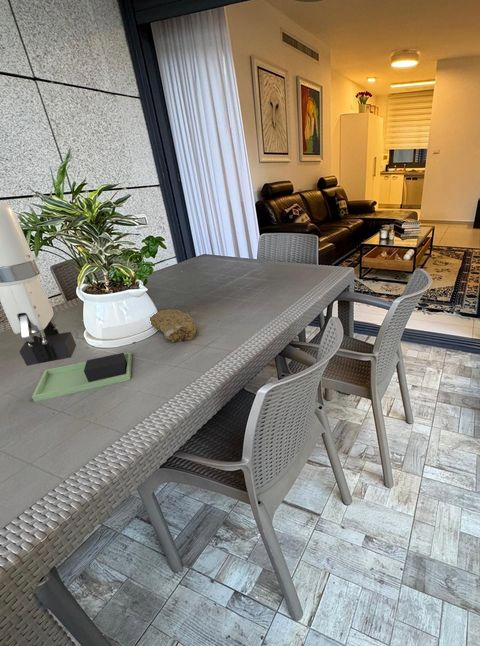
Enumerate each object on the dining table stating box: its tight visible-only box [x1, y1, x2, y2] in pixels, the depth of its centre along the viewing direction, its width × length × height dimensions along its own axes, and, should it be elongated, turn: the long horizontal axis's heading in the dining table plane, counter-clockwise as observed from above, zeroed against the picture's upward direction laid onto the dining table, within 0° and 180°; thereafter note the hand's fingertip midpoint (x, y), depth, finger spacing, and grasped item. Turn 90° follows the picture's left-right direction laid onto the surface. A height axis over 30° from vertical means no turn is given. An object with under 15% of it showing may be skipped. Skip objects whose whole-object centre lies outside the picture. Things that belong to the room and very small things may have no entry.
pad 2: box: [84, 352, 127, 382], centre depth 95 cm, size 9×6×4 cm, turn 114°
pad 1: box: [18, 331, 77, 367], centre depth 75 cm, size 8×6×4 cm
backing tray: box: [31, 351, 133, 403], centre depth 94 cm, size 21×13×2 cm, turn 113°
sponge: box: [150, 308, 197, 343], centre depth 116 cm, size 13×8×20 cm
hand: (51, 352), depth 76 cm, fingers closed on pad 1, 6 cm apart
